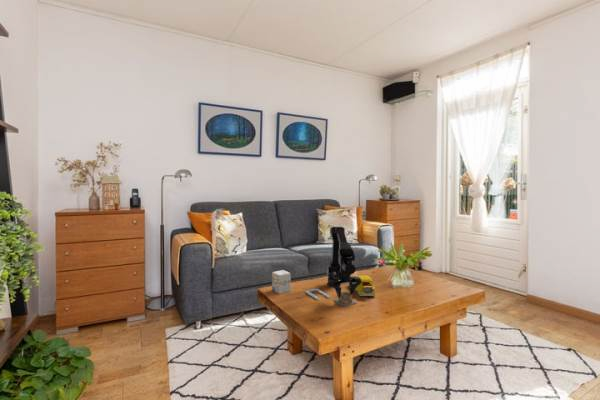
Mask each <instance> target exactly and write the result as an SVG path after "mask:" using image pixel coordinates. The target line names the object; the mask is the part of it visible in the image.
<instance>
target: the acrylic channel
mask: <svg viewBox="0 0 600 400" xmlns="http://www.w3.org/2000/svg"><path fill="white" fill-rule="evenodd" d="M316 293H319V294H321V295H322V296H324V297H326V298H327V299H330V295H328V293H325V292H324V291H322V290H320V289H319V288H315V289H314V288H313V289H308V290H305V294H307V295H309V296H310V297H312V298H313V299H315V300H316V301H319V300H320V298H319V297H318V296H316V295H315V294H316Z"/></svg>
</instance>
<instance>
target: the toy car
mask: <svg viewBox="0 0 600 400" xmlns="http://www.w3.org/2000/svg"><path fill="white" fill-rule="evenodd" d="M356 277H359V278H360V279H361V284H359V285H358V286H357V287H356V289H355V292H356V293H357V295H358V296H360V297H376V288H375V286H374V283H373V279H372V278H371V277H370V276H369V275H357V276H356Z"/></svg>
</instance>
